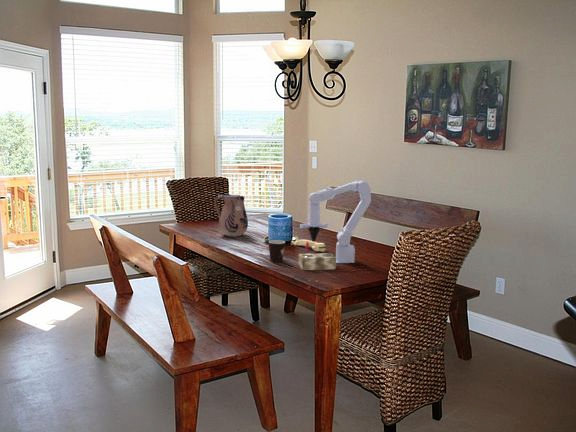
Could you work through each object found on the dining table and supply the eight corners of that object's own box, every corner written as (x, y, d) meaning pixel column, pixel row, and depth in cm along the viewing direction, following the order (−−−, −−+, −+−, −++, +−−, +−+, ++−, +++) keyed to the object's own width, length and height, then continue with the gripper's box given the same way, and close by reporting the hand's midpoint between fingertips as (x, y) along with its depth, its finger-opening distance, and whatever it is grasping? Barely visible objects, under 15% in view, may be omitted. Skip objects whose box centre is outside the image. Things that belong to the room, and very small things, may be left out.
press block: (330, 264, 302) (331, 253, 301) (335, 269, 294) (336, 257, 293) (298, 265, 299) (298, 253, 298) (302, 270, 290) (302, 258, 289)
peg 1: (310, 265, 298) (311, 255, 297) (313, 268, 294) (313, 257, 293) (302, 266, 297) (302, 255, 296) (304, 268, 293) (304, 257, 292)
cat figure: (288, 248, 342) (318, 253, 324) (287, 233, 341) (318, 237, 323) (300, 246, 349) (331, 250, 330) (300, 231, 348) (330, 235, 329)
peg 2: (329, 265, 300) (329, 254, 299) (331, 267, 296) (332, 256, 295) (320, 265, 299) (321, 254, 298) (323, 267, 295) (323, 256, 294)
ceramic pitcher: (246, 238, 357) (247, 198, 353) (211, 237, 358) (212, 197, 353) (248, 233, 375) (249, 194, 370) (215, 232, 375) (216, 193, 371)
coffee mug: (274, 263, 301) (274, 244, 300) (264, 259, 308) (265, 241, 307) (292, 260, 308) (293, 242, 306) (283, 257, 315) (283, 238, 313)
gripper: (302, 217, 300) (301, 243, 302) (329, 216, 303) (328, 242, 305) (299, 214, 306) (298, 240, 309) (326, 214, 310) (325, 239, 312)
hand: (313, 241), depth 308 cm, fingers closed
